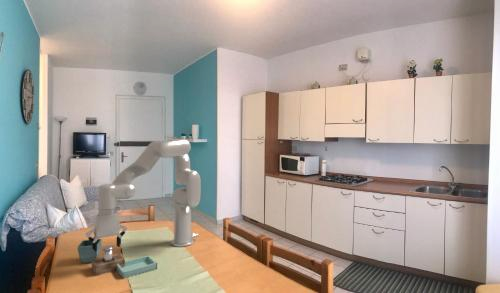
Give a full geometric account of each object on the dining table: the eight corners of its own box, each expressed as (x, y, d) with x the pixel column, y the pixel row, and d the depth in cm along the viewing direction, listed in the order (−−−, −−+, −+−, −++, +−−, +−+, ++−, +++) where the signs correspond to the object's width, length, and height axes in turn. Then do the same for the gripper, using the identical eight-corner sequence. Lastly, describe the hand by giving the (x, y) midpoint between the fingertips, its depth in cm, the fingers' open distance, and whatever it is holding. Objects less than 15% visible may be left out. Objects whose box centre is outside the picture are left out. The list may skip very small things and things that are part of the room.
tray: (148, 260, 142) (148, 255, 142) (157, 268, 133) (157, 263, 133) (116, 269, 132) (116, 263, 132) (123, 278, 124) (123, 272, 124)
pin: (112, 265, 137) (112, 244, 136) (114, 268, 133) (114, 247, 133) (101, 267, 134) (101, 246, 133) (104, 271, 130) (103, 250, 130)
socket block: (119, 261, 141) (119, 253, 140) (124, 268, 134) (124, 259, 133) (91, 268, 133) (91, 259, 133) (96, 275, 126) (95, 266, 126)
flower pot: (77, 265, 136) (76, 246, 135) (82, 257, 144) (82, 240, 144) (97, 263, 138) (97, 245, 138) (102, 256, 146) (101, 238, 146)
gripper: (124, 207, 140) (124, 242, 141) (84, 212, 130) (84, 250, 130) (129, 210, 135) (129, 246, 135) (87, 215, 124) (87, 255, 124)
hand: (106, 248), depth 133 cm, fingers open, 9 cm apart
